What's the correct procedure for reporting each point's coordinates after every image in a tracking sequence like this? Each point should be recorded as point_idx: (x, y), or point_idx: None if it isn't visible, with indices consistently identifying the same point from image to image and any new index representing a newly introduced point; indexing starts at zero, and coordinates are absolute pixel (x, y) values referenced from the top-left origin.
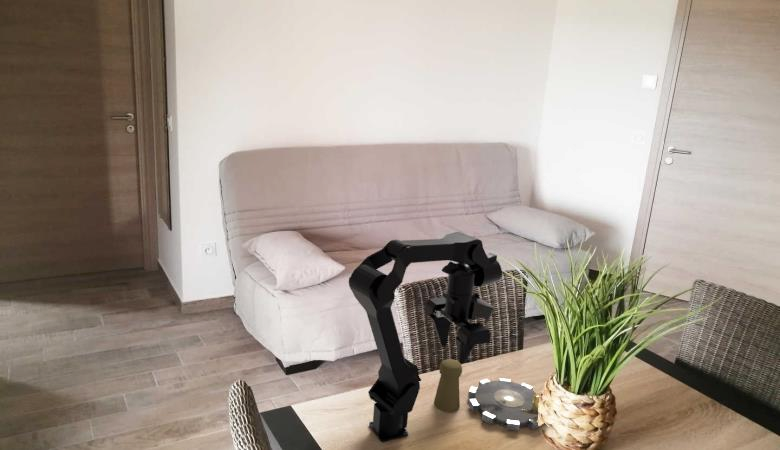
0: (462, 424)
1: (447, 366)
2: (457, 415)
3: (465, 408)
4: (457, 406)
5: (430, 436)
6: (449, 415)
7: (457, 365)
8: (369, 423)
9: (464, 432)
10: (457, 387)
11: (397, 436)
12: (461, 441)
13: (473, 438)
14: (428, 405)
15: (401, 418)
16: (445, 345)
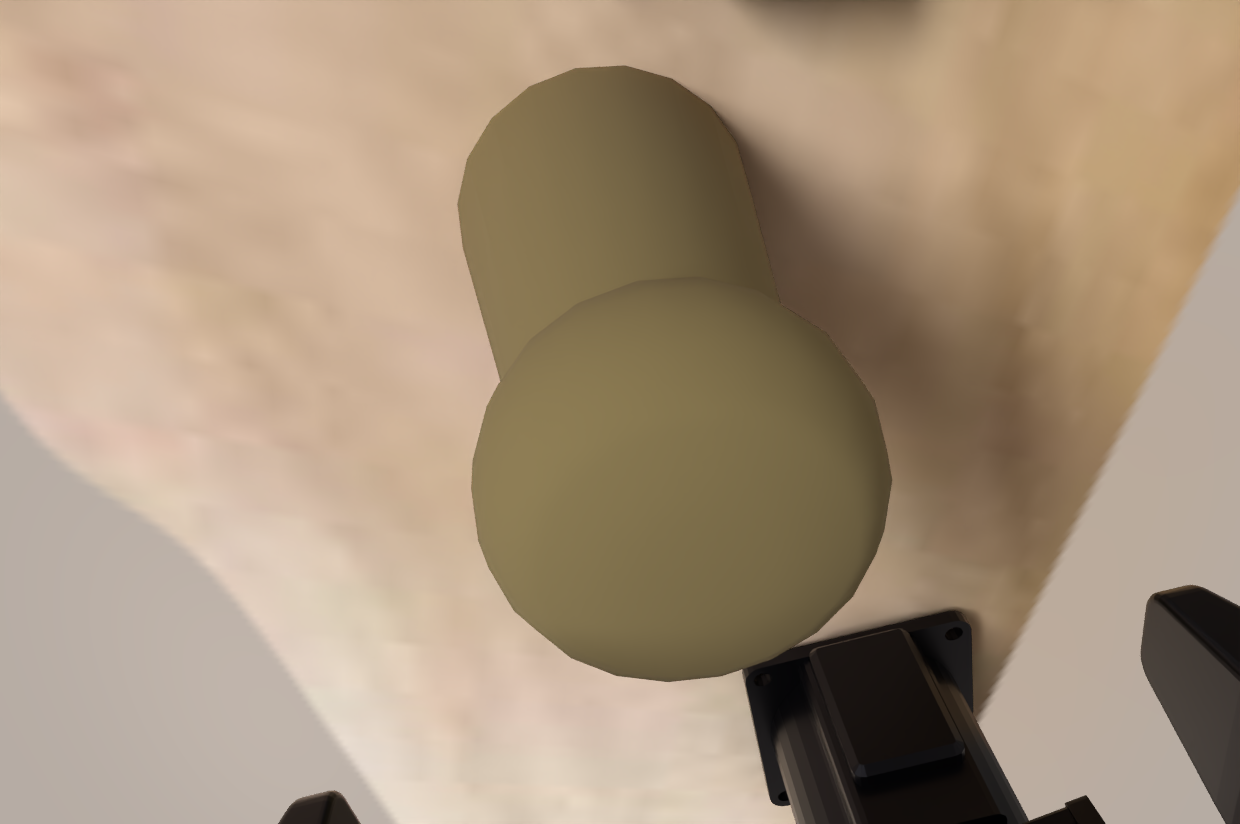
0: (971, 154)
1: (793, 638)
2: (817, 158)
3: (712, 14)
4: (730, 143)
5: (1020, 469)
6: (796, 241)
7: (813, 486)
8: (785, 805)
9: (1089, 176)
10: (758, 257)
11: (970, 682)
12: (1186, 246)
13: (1204, 116)
14: None
15: (998, 771)
16: (336, 806)
